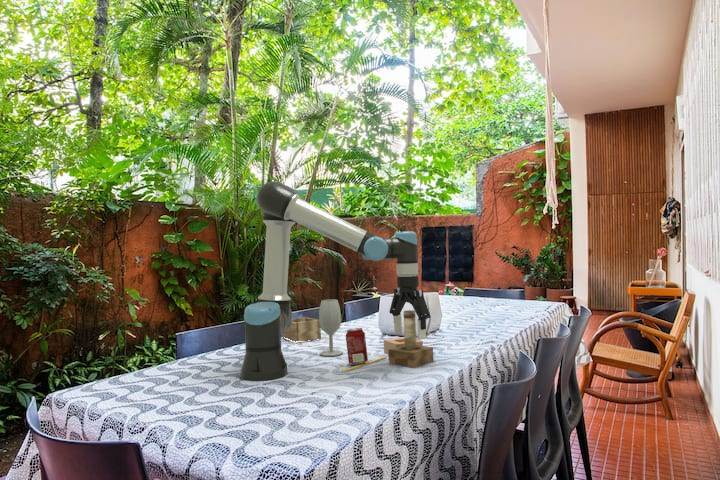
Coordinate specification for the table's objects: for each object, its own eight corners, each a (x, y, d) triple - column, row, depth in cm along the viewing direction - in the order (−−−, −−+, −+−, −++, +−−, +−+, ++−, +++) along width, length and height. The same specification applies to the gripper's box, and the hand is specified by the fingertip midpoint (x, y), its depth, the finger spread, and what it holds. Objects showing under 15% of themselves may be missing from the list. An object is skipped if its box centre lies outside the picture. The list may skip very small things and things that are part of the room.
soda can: (366, 364, 172) (362, 329, 173) (346, 366, 173) (343, 331, 174) (369, 361, 178) (365, 327, 179) (351, 362, 180) (347, 328, 181)
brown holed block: (414, 367, 168) (413, 352, 168) (389, 363, 175) (388, 349, 175) (433, 361, 176) (432, 347, 176) (408, 358, 183) (407, 344, 183)
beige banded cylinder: (410, 364, 173) (408, 312, 173) (403, 362, 176) (401, 311, 176) (419, 362, 175) (417, 311, 175) (412, 360, 178) (410, 310, 179)
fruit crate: (295, 343, 221) (294, 323, 221) (283, 339, 233) (282, 320, 233) (321, 339, 228) (320, 320, 228) (307, 336, 239) (307, 317, 239)
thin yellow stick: (344, 372, 165) (344, 371, 165) (341, 372, 166) (341, 370, 166) (386, 358, 184) (386, 357, 184) (383, 358, 185) (383, 356, 185)
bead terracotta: (396, 358, 184) (396, 344, 184) (384, 352, 194) (383, 339, 194) (423, 354, 188) (422, 341, 188) (409, 349, 198) (409, 336, 198)
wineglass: (332, 357, 188) (330, 301, 189) (315, 355, 194) (313, 301, 194) (347, 353, 195) (345, 299, 196) (330, 351, 201) (328, 298, 201)
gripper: (439, 276, 167) (441, 339, 167) (395, 274, 189) (397, 330, 188) (421, 277, 163) (423, 342, 163) (378, 275, 185) (380, 333, 184)
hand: (409, 336), depth 176 cm, fingers open, 13 cm apart
